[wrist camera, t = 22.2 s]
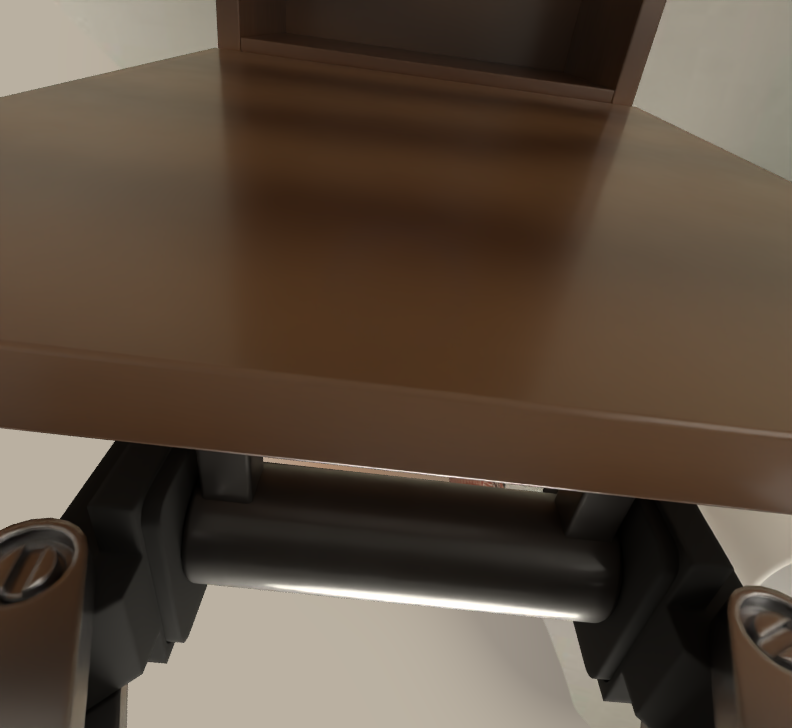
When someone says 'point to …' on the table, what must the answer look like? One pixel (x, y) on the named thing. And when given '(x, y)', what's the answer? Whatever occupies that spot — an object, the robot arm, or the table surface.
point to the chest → (461, 40)
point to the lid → (397, 320)
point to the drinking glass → (755, 545)
